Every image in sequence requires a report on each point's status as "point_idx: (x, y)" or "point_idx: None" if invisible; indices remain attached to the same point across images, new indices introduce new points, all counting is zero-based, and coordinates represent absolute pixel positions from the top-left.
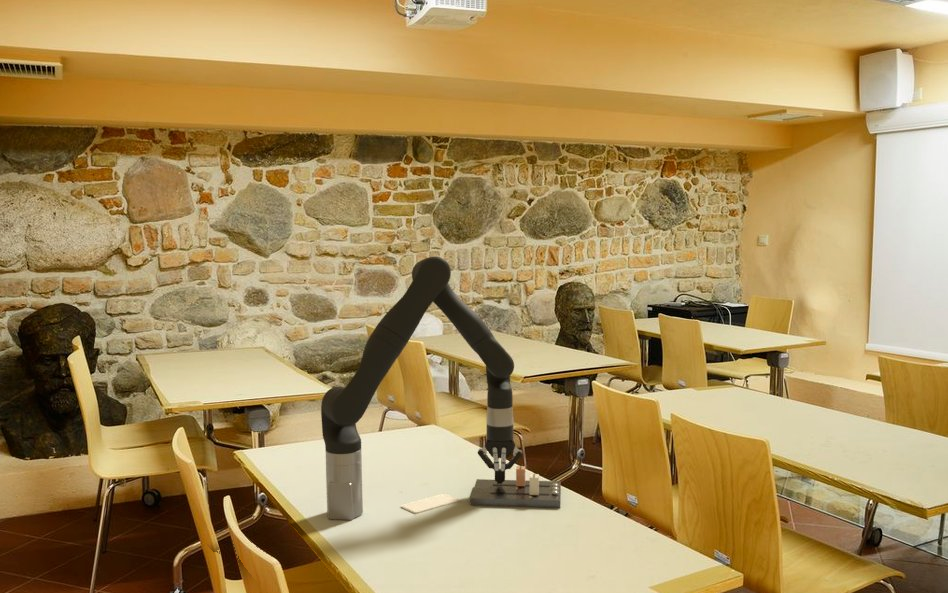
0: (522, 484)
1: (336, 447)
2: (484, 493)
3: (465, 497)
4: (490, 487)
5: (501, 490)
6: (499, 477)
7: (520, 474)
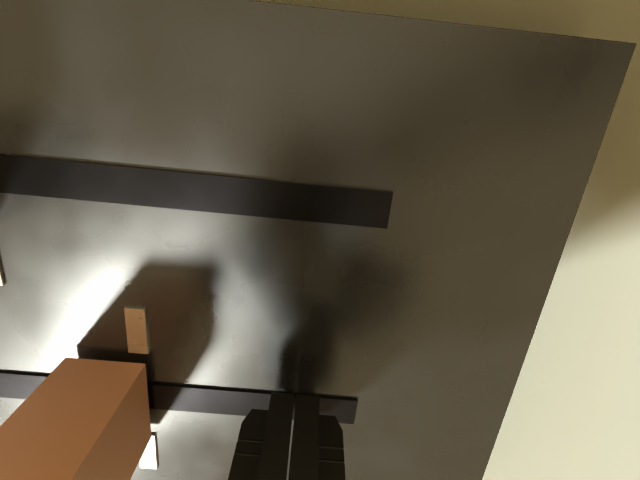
0: (78, 369)
1: None
2: (452, 198)
3: (578, 260)
4: (379, 352)
5: (279, 278)
6: (292, 441)
7: (28, 457)
